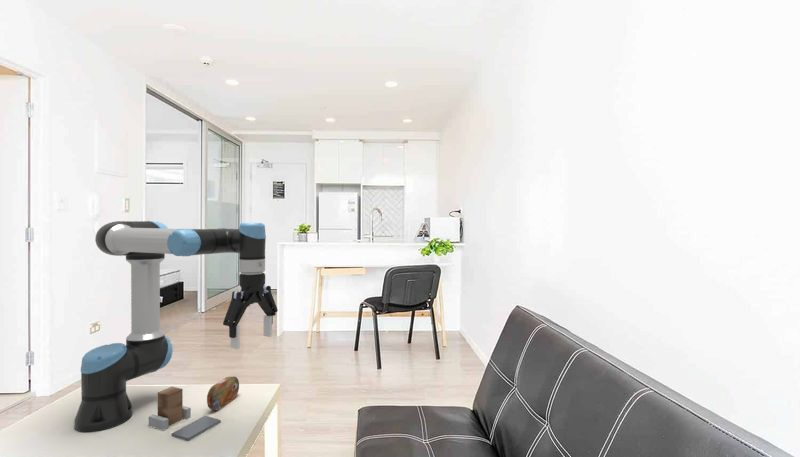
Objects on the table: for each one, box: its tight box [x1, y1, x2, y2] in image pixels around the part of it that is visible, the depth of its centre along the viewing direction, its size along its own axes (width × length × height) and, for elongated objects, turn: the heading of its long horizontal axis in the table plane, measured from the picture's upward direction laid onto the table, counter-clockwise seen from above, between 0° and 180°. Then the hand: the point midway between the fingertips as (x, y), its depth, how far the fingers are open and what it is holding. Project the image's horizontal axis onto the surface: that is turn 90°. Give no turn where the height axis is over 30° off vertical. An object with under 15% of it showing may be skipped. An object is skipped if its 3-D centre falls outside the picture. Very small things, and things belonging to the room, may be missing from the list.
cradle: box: [148, 405, 192, 431], centre depth 128 cm, size 7×10×3 cm
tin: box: [206, 375, 240, 411], centre depth 141 cm, size 15×3×8 cm, turn 168°
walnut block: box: [157, 386, 184, 427], centre depth 128 cm, size 5×5×10 cm
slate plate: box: [171, 415, 222, 442], centre depth 124 cm, size 7×12×1 cm, turn 157°
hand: (252, 341), depth 122 cm, fingers open, 13 cm apart
